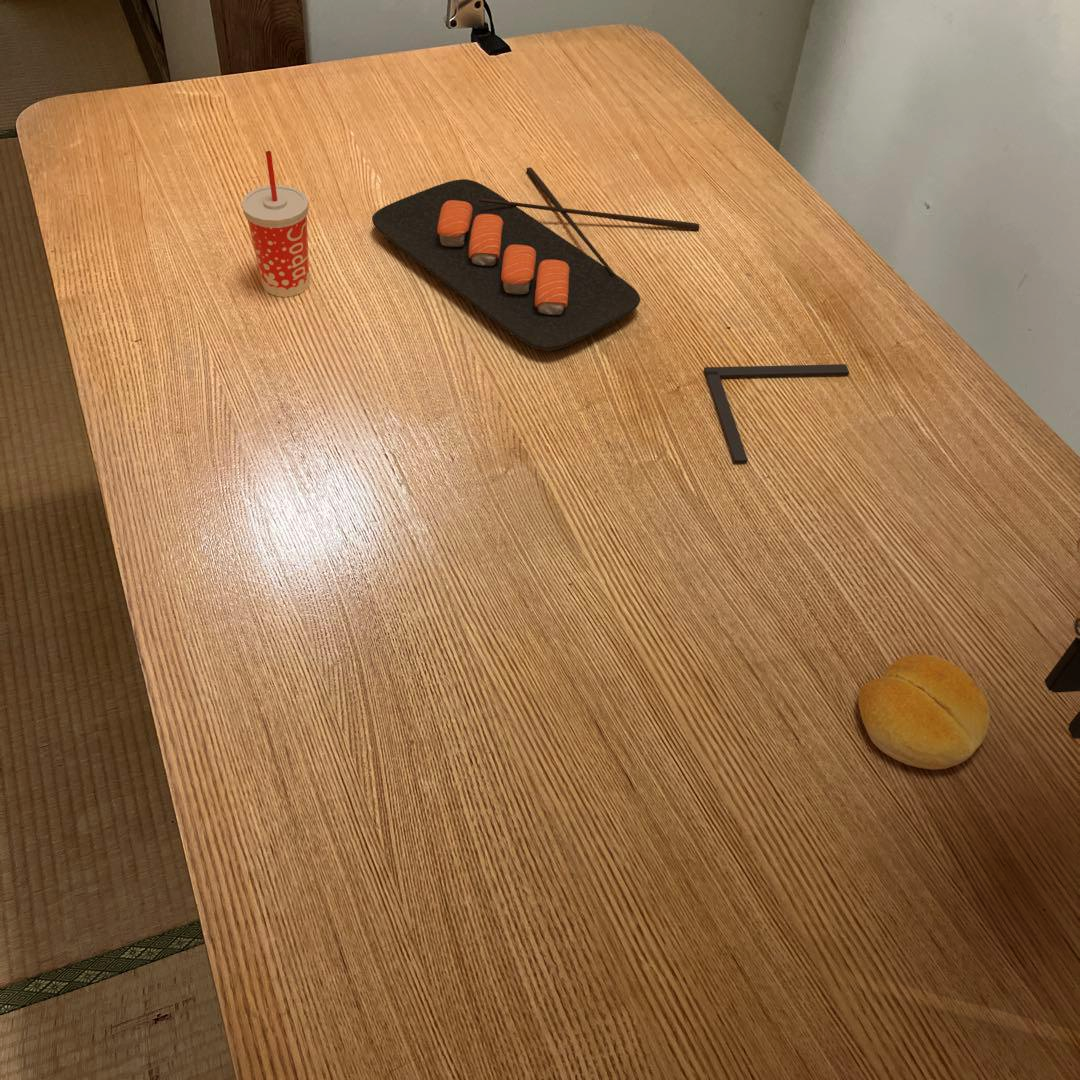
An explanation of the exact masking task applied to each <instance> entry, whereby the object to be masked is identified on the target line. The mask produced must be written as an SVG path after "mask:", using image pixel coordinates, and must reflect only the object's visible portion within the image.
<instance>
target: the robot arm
mask: <svg viewBox="0 0 1080 1080" xmlns="http://www.w3.org/2000/svg"><path fill="white" fill-rule="evenodd" d="M1076 547H1077V548H1076V549H1077V553H1078V561H1079V563H1080V537H1079V538H1078V540H1077V542H1076ZM1072 631H1073V634H1074V635H1075V638H1074V639H1073V640H1072V642H1071V643H1070V644H1069V645H1068V647H1067V649H1066V650H1065V651H1064V653H1063V654H1062V655H1061V657H1060V658H1059V659H1058V661H1057V662H1056V664H1055V665H1054V666H1053V668H1052V669H1051V671H1050V672H1049V673H1048V675H1047V676H1046V678H1045V679H1044V684H1045V686H1046V688H1047V690H1048V691H1050V692H1052V693H1054V694H1055V693H1074V692H1080V611H1079V612H1078V613H1077V614H1076V616H1075V617H1074V618H1073V621H1072ZM1067 730H1068V732H1069V734H1070V736H1071V738H1072V739H1074V740H1079V739H1080V710H1078V712H1077V713H1076V715H1075V716H1074V717H1073V718H1072V719H1071V721H1070V722H1069V724H1068V728H1067Z"/></svg>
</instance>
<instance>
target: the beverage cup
mask: <svg viewBox="0 0 1080 1080" xmlns="http://www.w3.org/2000/svg"><path fill="white" fill-rule="evenodd" d="M265 157H266V165H267V172H268V180H269V185H265V186H260V187H258V188H255V189H253V190H250V191H249V192H248V193H247V194H245V196H244V197H243V198H242V201H241V208H242V213H243V215H244V217H245V220H247V224H248V228H249V233H250V237H251V242H252V245H253V250H254V253H255V254H254V255H255V258H256V264H257V267H258V271H259V277H260V280H261V285H262V288H263V289H264V291H265V292H266V293H268V294H270V295H272V296H276V297H279V298H280V297H281V298H282V297H283V298H289V297H293V296H298V295H300V294H302V293H304V292H305V291H306V290H307V289H308V288H309V287H310V262H309V261H310V260H309V237H308V214H309V209H310V207H309V206H310V205H309V203H310V202H309V201H310V200H309V199H308V197H307V195H306V194H305V193H304V191H301V190H300V189H298V188H296V187H293V186H289V185H279V184H276V179H275V172H274V171H275V170H274V164H273V163H274V162H273V155H272V151H271V150H267V151H265Z"/></svg>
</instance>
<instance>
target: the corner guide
mask: <svg viewBox="0 0 1080 1080" xmlns="http://www.w3.org/2000/svg"><path fill="white" fill-rule="evenodd" d="M703 373H704V375H705V380H706V383H707V386H708V390H709V392H710V395H711V398H712V401H713V404H714V407H715V410H716V413H717V417H718V420H719V423H720V425H721V429H722V433H723V436H724V439H725V442H726V445H727V448H728V451H729V454H730V458H731V460H732V464H734V465H745V464H747V463H748V461H749V460H748V456H747V453H746V451H745V448H744V444H743V441H742V439H741V435H740V433H739V429H738V427H737V424H736V421H735V418H734V414H733V412H732V409H731V406H730V402H729V400H728V396H727V394H726V390H725V388H724V385H723V382H722V379H725V380H726V379H727V380H729V379H730V380H731V379H769V378H770V379H771V378H809V377H810V378H811V377H812V378H813V377H818V378H819V377H848V376H849V374H850V370H849V368H848V365H847V364H846V363H841V364H840V363H838V364H792V365H789V364H788V365H750V366H746V365H745V366H705V367H704V368H703Z"/></svg>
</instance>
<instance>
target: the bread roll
mask: <svg viewBox="0 0 1080 1080" xmlns="http://www.w3.org/2000/svg"><path fill="white" fill-rule="evenodd" d="M857 703H858V709H859V714H860V718H861V721H862V723H863V725H864V728H865V730H866V733H867V734H868V736H869V739H870V740H871V742H872V744H873V745H875V746H876V747H877V748H878V750H880V751H881V752H882V753H883V754H885V755H887V756H889V757H890V758H891V759H893V760H896V761H897V762H899V763H902V764H904V765H906V766H911V767H915V768H918V769H919V768H920V769H925V770H935V771H936V770H946V769H948V768H952V767H954V766H958V765H959V764H962V763H964V762H966V761H967V760H968V759H969V758H970V757H972V755H973V754H975V752H976V751H977V750H978V748H980V746H982V744H983V742H984V741H985V738H986V737H987V733H988V729H989V727H990V724H991V713H990V707H989V701H988V700H987V699H986V697H985V695H984V693H983V691H982V690H981V689H980V687H979V686H978V684H977V683H976V681H974V679H972V678H971V676H969V675H968V673H966V672H965V671H964V670H962V669H961V668H960V667H959V666H957V665H956V664H954V663H953V662H951V661H949V660H947V659H945V658H942V657H940V656H936V655H932V654H927V653H926V654H925V653H914V654H913V653H912V654H908V655H904V656H902V657H900V658H898V659H896V660H895V661H893V663H891V664H890V665H889V666H888V667H887V668H886V670H885V671H884V672H883V675H882V676H881V677H878V678H875V679H871V680H869V681H868V682H867V683H866V684H865V685H864V686H862V687H861V690H860V692H859V694H858V700H857Z"/></svg>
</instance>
